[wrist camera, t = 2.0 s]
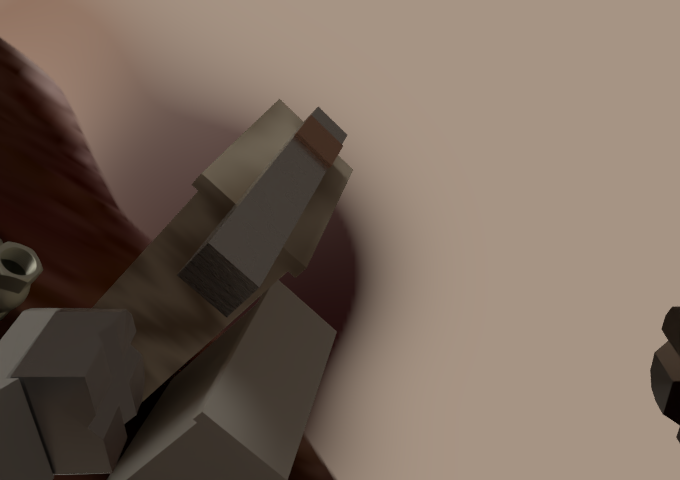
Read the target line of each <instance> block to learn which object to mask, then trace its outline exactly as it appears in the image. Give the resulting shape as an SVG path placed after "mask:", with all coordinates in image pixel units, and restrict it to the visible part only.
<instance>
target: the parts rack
mask: <svg viewBox="0 0 680 480" xmlns="http://www.w3.org/2000/svg"><path fill="white" fill-rule="evenodd" d="M335 335H336V331H335V330H334V329H333V328H332V327H331V326H330V325H329V324H328V323H326V322H325V321H324V320H323V319H322V318H321V317H320V316H319V315H317V314H316V313H315V312H314V311H313V310H312V309H311V308H310V307H308V306H307V305H306V304H305V303H304V302H303V301H302V300H300V299H299V298H298V297H297V296H296V295H295V294H294V293H293V292H291V291H290V290H289V289H288V288H287V287H286V286H285V285H284V284H282V283H281V282H280V281H279V280H277V281H276V282H275V283H274V284H273V285H272V286H271V287H270V288H268V289H267V290H266V291H265V292H264V293H263V294H262V296H261V298H260V299H259V302H258V303H257V304H256V305H255V306H254V307H253V308H251V309H250V310H249V311H248V312H247V313H246V314H245V315H244V316H242V317H241V318H240V319H239V320H238V321H237V322H236V323H235V324H233V325H232V326H231V327H230V328H229V329H228V330H227V331H226V332H225V333H223V334H222V335H221V336H220V337H219V338H218V339H217V340H216V341H214V342H213V343H212V344H211V345H210V346H209V347H208V348H207V349H206V350H204V351H203V352H202V353H201V354H200V355H199V356H198V357H197V358H195V359H194V360H193V361H192V362H191V363H190V364H189V365H188V366H186V367H185V368H184V369H183V370H182V371H181V372H180V373H179V374H178V375H176V376H175V377H174V378H173V379H172V380H171V381H170V383H169V384H168V386H167V387H166V389H165V391H164V392H163V394H162V395H161V397H160V398H159V400H158V401H157V403H156V404H155V406H154V407H153V409H152V411H151V412H150V414H149V415H148V417H147V418H146V420H145V421H144V423H143V424H142V426H141V428H140V429H139V431H138V432H137V434H136V435H135V437H134V438H133V440H132V441H131V443H130V444H129V446H128V448H127V449H126V451H125V452H124V454H123V455H122V457H121V458H120V460H119V461H118V463H117V464H116V466H115V469H114V471H113V473H111V474H110V475H109V477H108V478H107V480H288V477H289V474H290V471H291V468H292V465H293V462H294V459H295V456H296V453H297V450H298V447H299V444H300V441H301V438H302V435H303V432H304V429H305V426H306V423H307V420H308V417H309V414H310V411H311V408H312V405H313V402H314V399H315V396H316V393H317V389H318V387H319V383H320V380H321V377H322V375H323V372H324V368H325V365H326V362H327V359H328V356H329V353H330V350H331V347H332V344H333V341H334V338H335Z"/></svg>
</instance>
